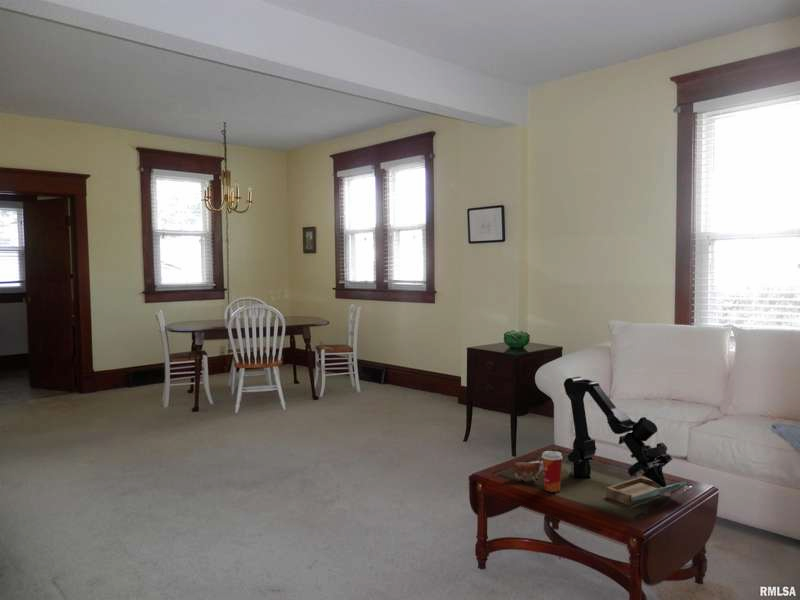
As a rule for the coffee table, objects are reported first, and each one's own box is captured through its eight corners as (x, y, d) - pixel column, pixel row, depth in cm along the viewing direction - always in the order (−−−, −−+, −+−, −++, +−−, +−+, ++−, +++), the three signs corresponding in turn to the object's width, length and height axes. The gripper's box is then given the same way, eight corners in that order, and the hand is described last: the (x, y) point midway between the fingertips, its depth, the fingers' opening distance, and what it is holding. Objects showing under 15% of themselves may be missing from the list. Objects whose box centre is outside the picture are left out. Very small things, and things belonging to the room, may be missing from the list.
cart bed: (606, 496, 221) (606, 487, 221) (640, 485, 232) (640, 476, 232) (629, 505, 213) (629, 495, 213) (663, 492, 224) (663, 483, 224)
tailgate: (630, 498, 212) (651, 493, 206) (665, 486, 223) (685, 481, 216) (632, 502, 212) (652, 497, 205) (666, 489, 223) (687, 485, 216)
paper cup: (543, 485, 234) (543, 449, 233) (564, 487, 231) (563, 451, 230) (540, 492, 227) (539, 455, 226) (561, 495, 224) (561, 457, 223)
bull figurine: (547, 483, 236) (547, 462, 236) (512, 481, 239) (512, 460, 239) (547, 479, 241) (547, 459, 240) (512, 477, 243) (512, 457, 243)
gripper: (635, 440, 211) (663, 480, 202) (667, 431, 221) (696, 469, 212) (616, 457, 218) (643, 496, 209) (648, 448, 228) (675, 485, 219)
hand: (665, 486), depth 212 cm, fingers closed
